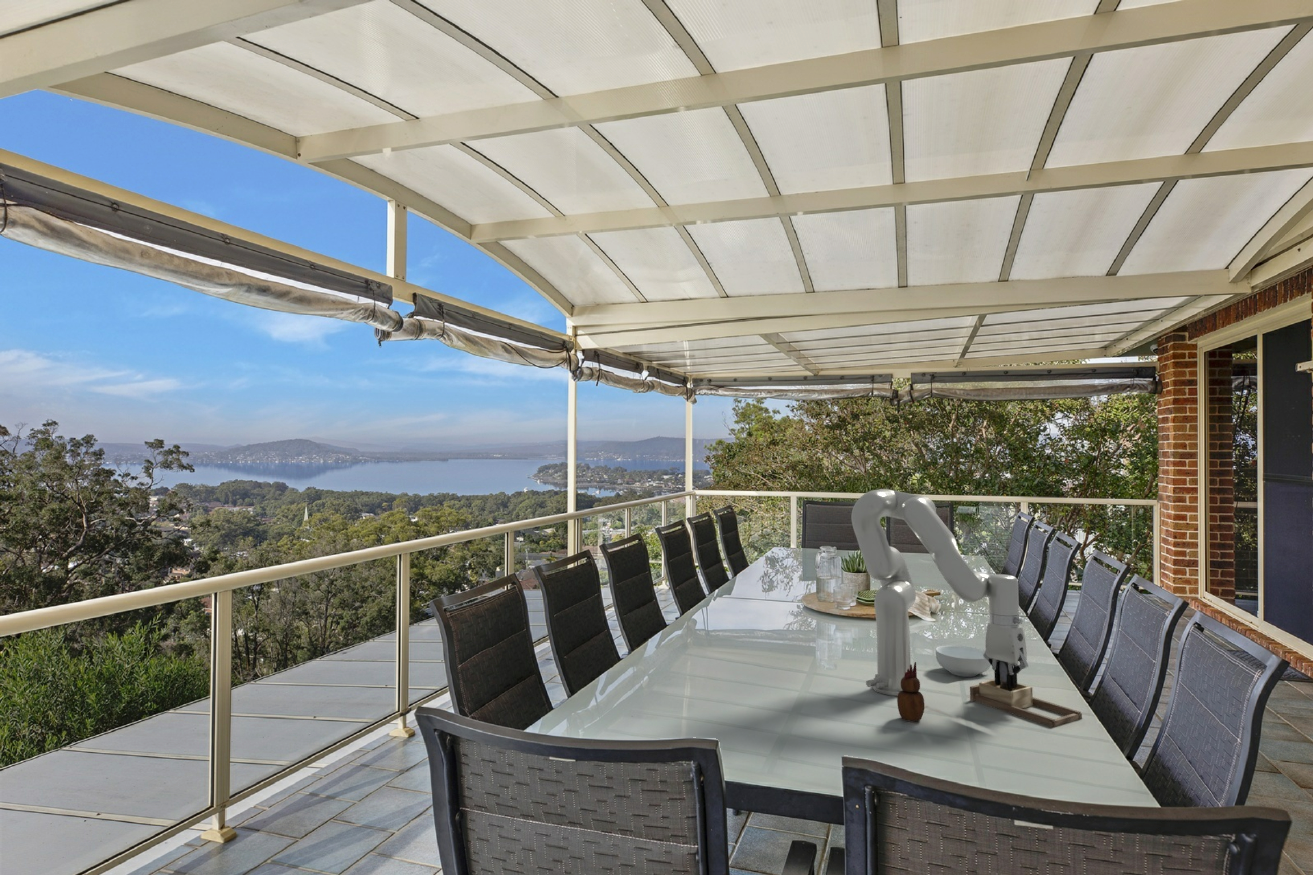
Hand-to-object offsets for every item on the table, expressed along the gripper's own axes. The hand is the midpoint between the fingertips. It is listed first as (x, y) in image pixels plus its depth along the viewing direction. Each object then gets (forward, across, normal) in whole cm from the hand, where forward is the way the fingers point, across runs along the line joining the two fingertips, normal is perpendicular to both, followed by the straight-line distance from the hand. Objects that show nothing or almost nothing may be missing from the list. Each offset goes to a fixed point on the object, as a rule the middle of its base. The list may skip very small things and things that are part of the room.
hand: (1005, 685), depth 205 cm
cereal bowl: (+6, +28, -17) cm, 33 cm away
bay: (+6, -5, 0) cm, 8 cm away
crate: (+5, 0, 0) cm, 5 cm away
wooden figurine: (+6, +7, +30) cm, 31 cm away
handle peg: (+3, 0, 0) cm, 3 cm away
